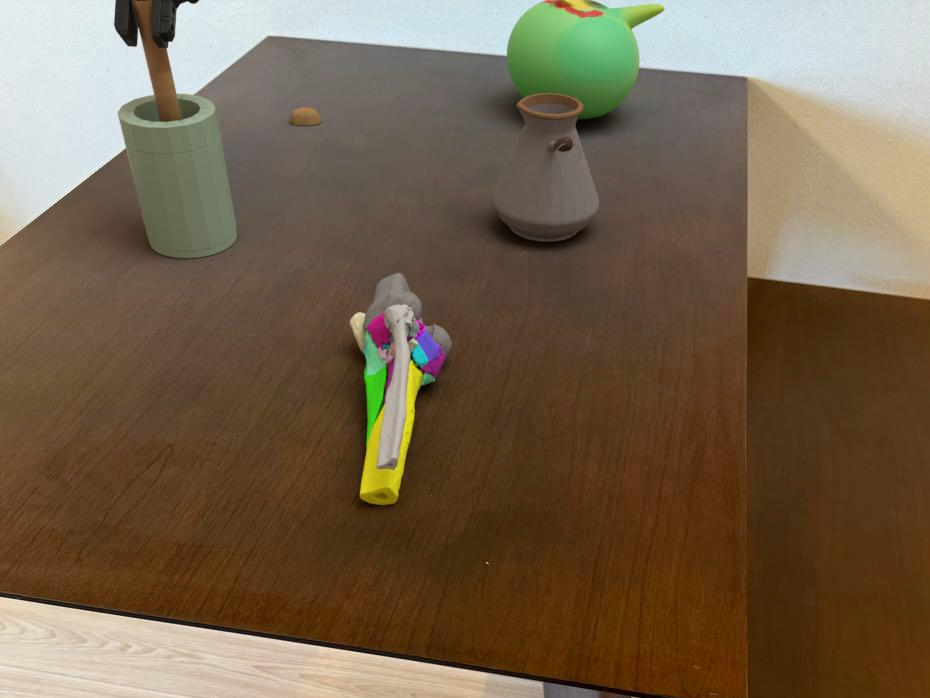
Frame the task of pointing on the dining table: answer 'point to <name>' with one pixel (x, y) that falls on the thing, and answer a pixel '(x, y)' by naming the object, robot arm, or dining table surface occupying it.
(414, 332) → the knee model
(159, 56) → the wooden pestle
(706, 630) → the dining table surface
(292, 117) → the potato
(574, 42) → the toy bird
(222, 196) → the pale green cup
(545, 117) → the coffee pot
